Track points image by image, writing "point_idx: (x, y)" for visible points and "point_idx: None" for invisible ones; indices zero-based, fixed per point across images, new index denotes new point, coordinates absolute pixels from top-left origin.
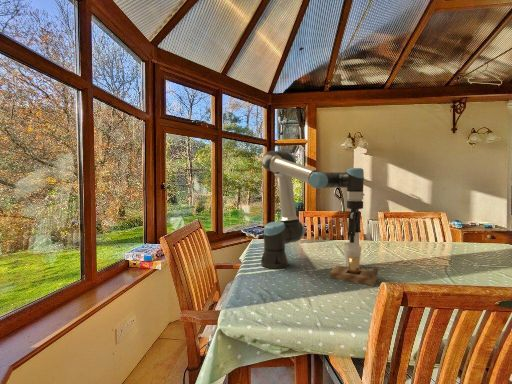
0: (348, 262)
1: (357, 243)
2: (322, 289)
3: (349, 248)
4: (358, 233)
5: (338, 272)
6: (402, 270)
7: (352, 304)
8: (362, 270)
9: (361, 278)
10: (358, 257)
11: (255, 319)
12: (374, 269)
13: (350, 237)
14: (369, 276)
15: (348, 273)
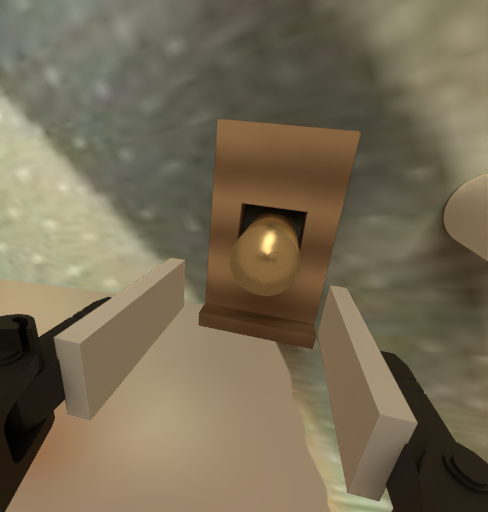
0: (468, 193)
1: (323, 340)
2: (88, 128)
3: (168, 262)
4: (346, 479)
5: (229, 167)
6: (446, 415)
7: (44, 244)
8: (308, 276)
9: (209, 271)
10: (280, 289)
11: None
12: (279, 333)
13: (42, 337)
14: (233, 302)
15: (234, 217)
